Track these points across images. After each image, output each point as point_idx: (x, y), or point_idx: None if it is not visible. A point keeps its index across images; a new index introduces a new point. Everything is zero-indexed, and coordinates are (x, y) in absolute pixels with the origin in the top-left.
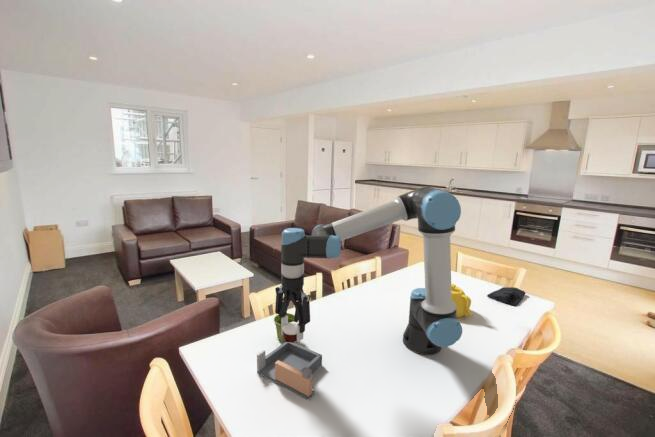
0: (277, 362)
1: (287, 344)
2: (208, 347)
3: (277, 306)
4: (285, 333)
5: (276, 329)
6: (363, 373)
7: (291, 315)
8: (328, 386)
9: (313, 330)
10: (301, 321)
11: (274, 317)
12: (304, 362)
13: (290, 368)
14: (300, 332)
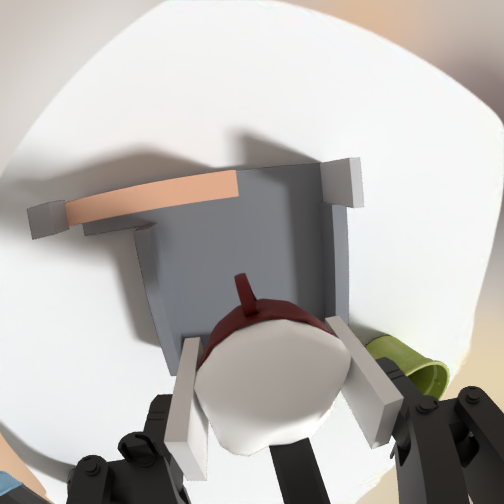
0: (225, 179)
1: None
2: (493, 163)
3: (501, 444)
4: (275, 320)
5: (415, 351)
6: (78, 385)
7: None
8: (87, 289)
9: (324, 429)
10: (132, 478)
11: (448, 373)
12: (220, 319)
13: (138, 196)
14: (172, 395)
